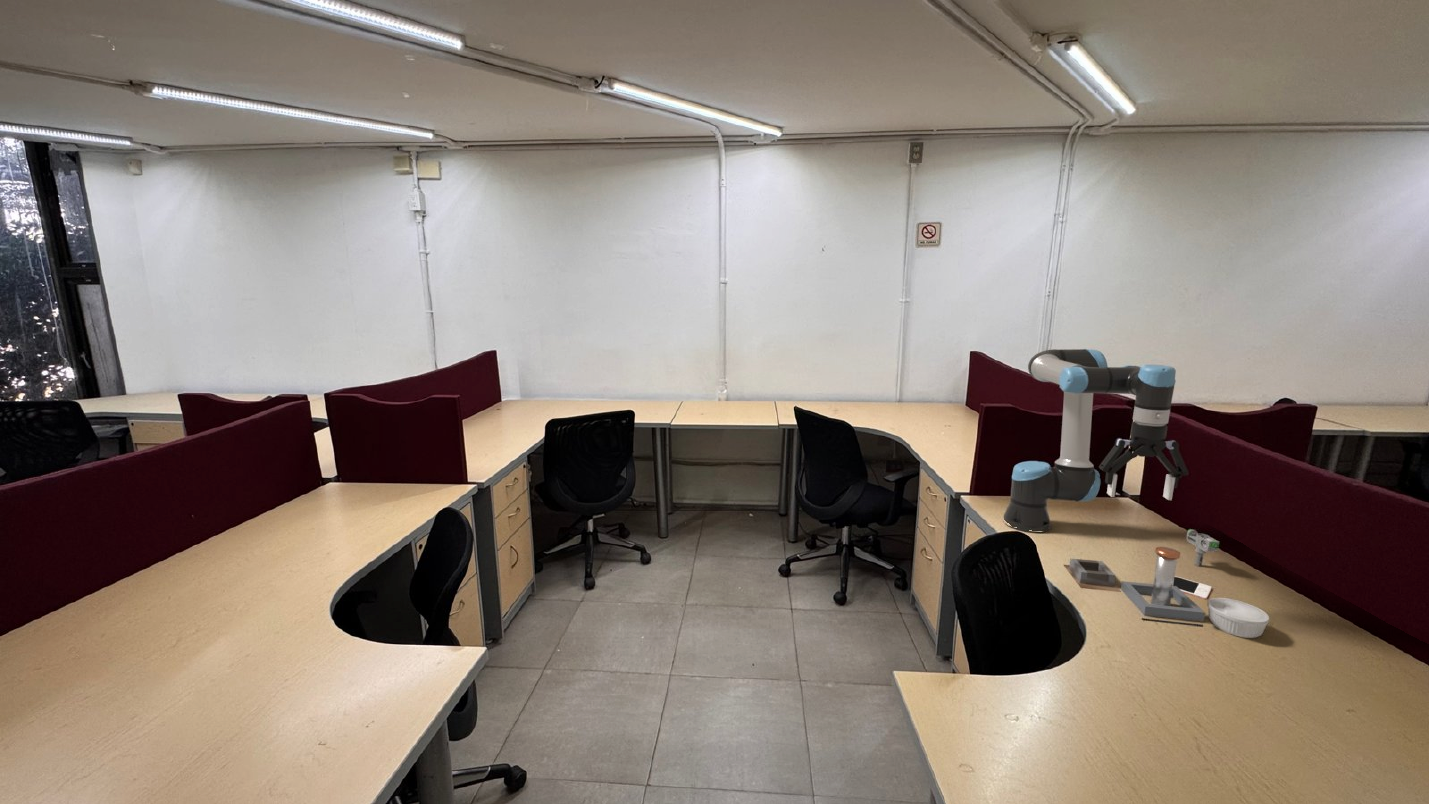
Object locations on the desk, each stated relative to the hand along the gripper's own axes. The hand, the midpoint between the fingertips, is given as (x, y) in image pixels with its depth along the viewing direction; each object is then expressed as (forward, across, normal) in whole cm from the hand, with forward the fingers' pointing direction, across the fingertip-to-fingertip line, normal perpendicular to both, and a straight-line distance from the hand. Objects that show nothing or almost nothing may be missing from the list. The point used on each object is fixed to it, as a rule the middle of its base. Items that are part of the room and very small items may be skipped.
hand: (1138, 496), depth 150 cm
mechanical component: (+29, +28, +19) cm, 45 cm away
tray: (+28, +4, -10) cm, 30 cm away
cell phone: (+29, +14, +7) cm, 33 cm away
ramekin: (+28, +18, -15) cm, 37 cm away
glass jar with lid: (+27, +4, -10) cm, 29 cm away
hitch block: (+28, -8, +2) cm, 30 cm away
